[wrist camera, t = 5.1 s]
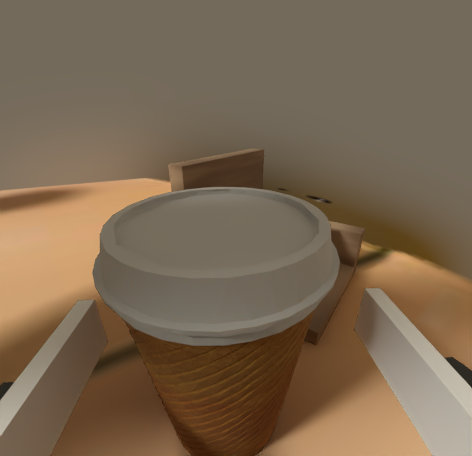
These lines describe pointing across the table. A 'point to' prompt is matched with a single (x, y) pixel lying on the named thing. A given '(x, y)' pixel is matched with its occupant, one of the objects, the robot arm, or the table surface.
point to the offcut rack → (251, 176)
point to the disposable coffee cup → (218, 303)
